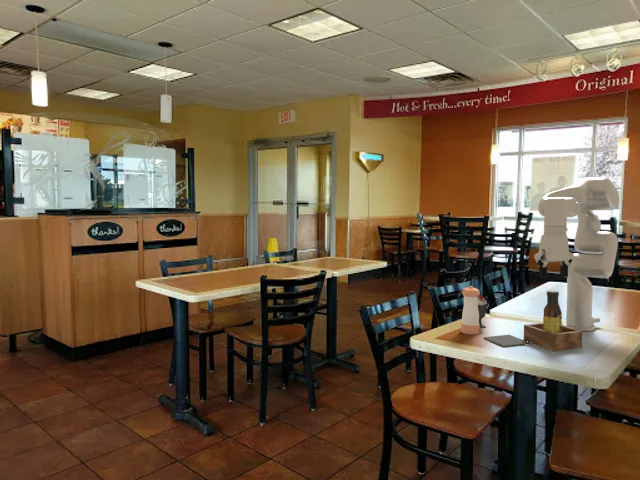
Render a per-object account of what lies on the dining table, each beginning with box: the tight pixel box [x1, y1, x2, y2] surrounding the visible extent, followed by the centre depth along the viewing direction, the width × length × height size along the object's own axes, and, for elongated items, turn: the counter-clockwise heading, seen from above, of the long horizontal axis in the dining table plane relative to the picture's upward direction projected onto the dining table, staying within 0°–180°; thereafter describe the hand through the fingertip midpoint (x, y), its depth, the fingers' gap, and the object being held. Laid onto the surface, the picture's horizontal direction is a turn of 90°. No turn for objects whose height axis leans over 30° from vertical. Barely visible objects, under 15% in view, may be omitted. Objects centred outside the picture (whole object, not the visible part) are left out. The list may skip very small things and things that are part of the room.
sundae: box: [478, 292, 489, 329], centre depth 205 cm, size 7×7×15 cm
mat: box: [482, 334, 532, 348], centre depth 184 cm, size 12×12×1 cm
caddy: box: [523, 322, 583, 352], centre depth 180 cm, size 13×15×6 cm
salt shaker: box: [460, 285, 481, 335], centre depth 197 cm, size 7×7×19 cm
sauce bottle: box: [542, 290, 563, 334], centre depth 180 cm, size 7×6×20 cm
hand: (553, 277), depth 178 cm, fingers open, 9 cm apart
